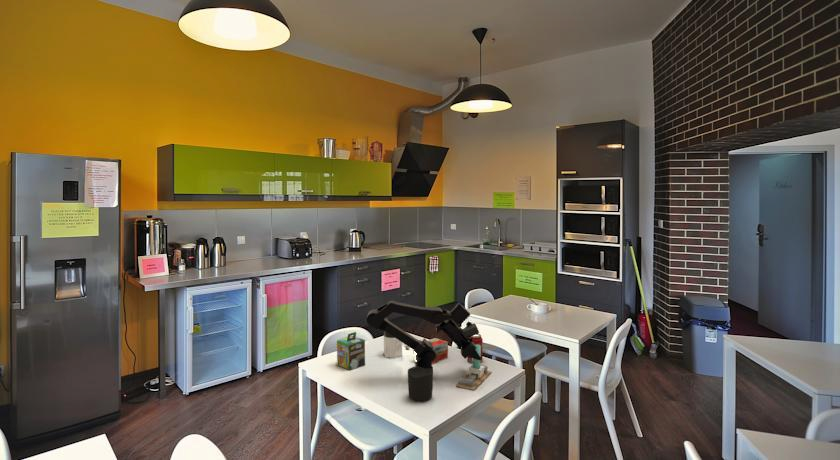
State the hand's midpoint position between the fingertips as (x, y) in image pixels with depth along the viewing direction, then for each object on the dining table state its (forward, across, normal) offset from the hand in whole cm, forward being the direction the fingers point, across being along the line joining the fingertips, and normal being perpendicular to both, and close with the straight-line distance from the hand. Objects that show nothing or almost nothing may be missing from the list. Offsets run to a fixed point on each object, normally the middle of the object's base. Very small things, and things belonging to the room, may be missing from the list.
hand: (479, 357), depth 183 cm
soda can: (+7, +18, +5) cm, 20 cm away
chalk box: (-32, +16, +44) cm, 57 cm away
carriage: (+5, 0, +7) cm, 8 cm away
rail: (+4, -2, +8) cm, 9 cm away
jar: (-20, +28, +32) cm, 46 cm away
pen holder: (-12, -18, +24) cm, 32 cm away
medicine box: (-7, +21, +19) cm, 29 cm away
